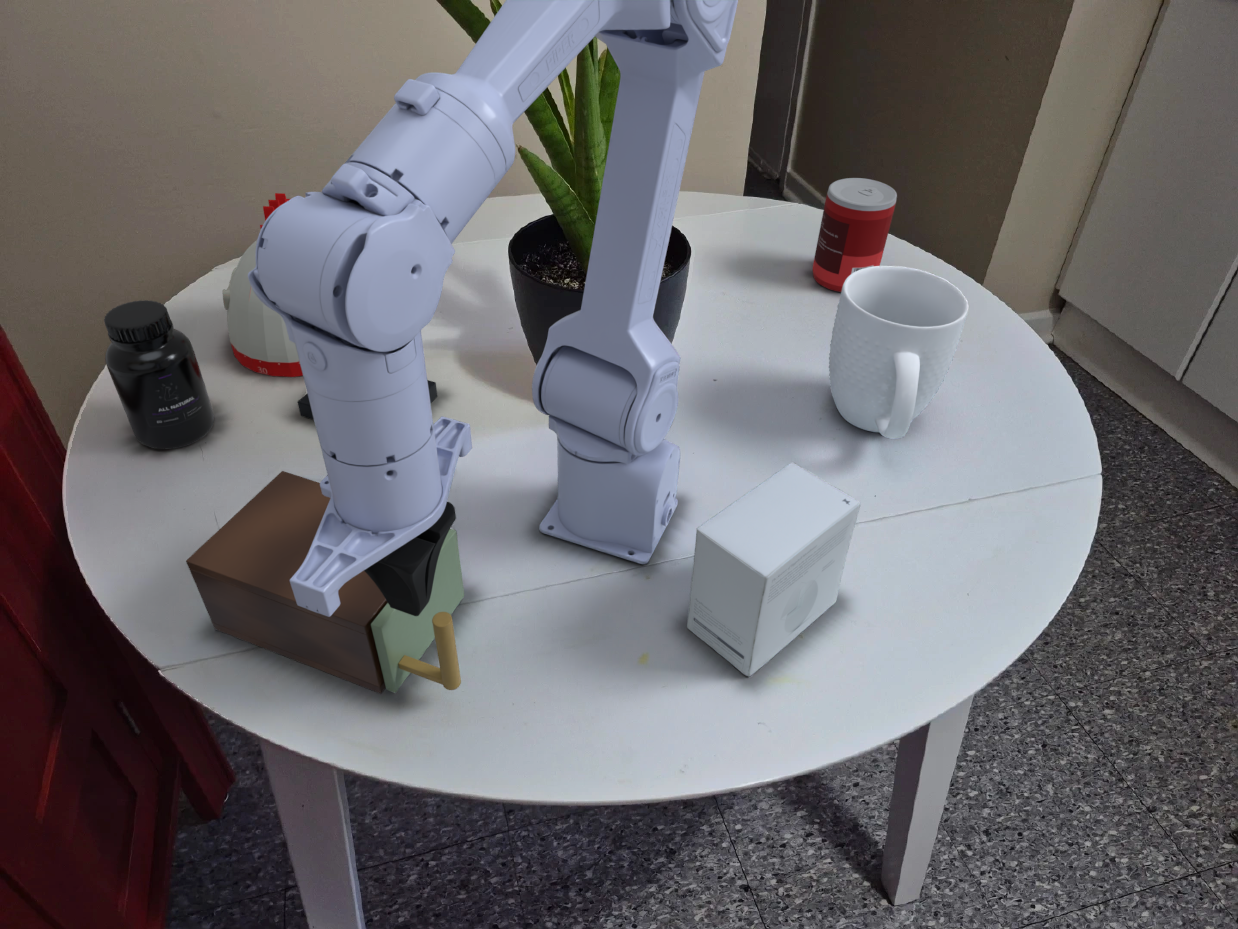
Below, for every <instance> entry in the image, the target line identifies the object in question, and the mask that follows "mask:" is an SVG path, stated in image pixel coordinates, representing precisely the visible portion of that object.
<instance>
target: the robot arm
mask: <svg viewBox="0 0 1238 929" xmlns="http://www.w3.org/2000/svg"><path fill="white" fill-rule="evenodd" d="M738 4H739V0H505V1H504V3H503V4H501V5H502V6H501V7H500V8H499V9H498V11H497V13H496V14H495V15H494V17H493V19H492V20H491V21H490V22H489V24H488V26H487V27H486V28H485V30H484V31H483V33H482V34H481V36H480V37H479V38H478V40H477V42H476V43H475V44H474V46H473V47H472V49H471V50H470V52H469V53H468V55H467V56H466V57H465V59H464V60H463V62H462V64H461V65H460V66H459V68H458V69H457V70H456V72H455V73H452V74H450V73H445V72H425V73H422V74H420V75H418V76H417V77H416V78H415V79H412V78H408V79H407V80H406V81H405V82H404V83H403V84H402V86H401V87H400V88H399V89H398V90H397V91H396V92H395V94H394V96H393V100H394V102H395V103H394V104H393V106H392V107H391V108H390V109H389V110H388V111H387V112H386V113H385V115H383V118H381V119H380V121H379V122H377V124H376V125H375V127H374V128H373V129H372V130H371V131H370V133H369V134H368V135H367V136H366V137H365V139H363V141H361V143H360V144H359V145H358V147H356V149H355V150H354V151H353V152H352V153H351V155H350V156H349V157H348V158H347V159H346V160H345V162H344V163H343V164H341V165H340V167H339V168H338V169H337V170H336V171H335V173H333V175H332V176H331V179H330V180H329V181H328V182H327V183H326V184H325V186H324V187H323V188H322V190H321V191H308V192H304V193H305V194H304V195H305V197H304V196H301V195H296V196H293V197H292V198H289V199H290V200H289V201H287V202H286V203H284V204H282V205H281V206H279V207H278V208H277V209H275V210H274V211H273V212H272V213H271V215H270V216H269V217H268V218H267V220H266V221H265V220H264V223H263V224H262V225H263V226H262V228H260V230H259V232H258V235H257V239H256V240H257V243H256V251H255V260H256V266H255V268H254V269H253V270H252V271H250V272H249V273H248V279H249V282H250V285H251V287H252V289H253V291H254V292H255V294H256V296H257V297H258V298H259V299H260V300H261V301H262V302H263V303H264V304H265V305H266V306H267V307H269V308H270V309H272V310H274V311H276V312H277V313H278V314H279V315H280V316H281V317H282V318H283V320H284V322H285V325H286V328H287V332H288V336H289V340H290V341H292V342H294V343H295V345H296V349H297V353H298V357H299V361H300V365H301V369H302V373H303V376H302V377H303V380H304V385H305V389H306V394H307V393H308V398H309V402H310V406H311V410H312V414H313V418H314V420H313V421H314V426H315V430H316V434H317V438H318V442H319V445H320V449H321V453H322V459H323V461H324V465H325V470H326V475H325V477H324V478H322V479H321V480H320V482H319V483H320V487H321V491H322V494H323V495H324V496H326V497H329V498H331V499H330V501H329V503H328V506H327V508H326V511H325V513H324V515H323V518H322V520H321V523H320V525H319V528H318V530H317V532H316V535H315V537H314V540H313V542H312V545H311V547H310V549H309V552H308V554H307V556H306V558H305V560H304V562H303V563H302V565H301V567H300V568H299V569H298V571H297V572H296V573H295V574H294V575H293V577H292V578H291V579H290V584H291V587H292V590H293V593H294V596H295V599H296V603H297V605H298V606H301V607H303V608H306V609H308V610H311V611H313V612H316V613H320V614H322V615H325V616H328V617H330V616H331V615H332V614H333V613H334V612H335V610H336V609H337V608H338V607H339V606H340V604H341V603H340V599H339V595H338V590H339V589H340V588H341V587H342V586H343V585H344V583H346V582H347V581H349V580H350V579H352V578H353V577H354V576H356V575H358V574H359V573H361V572H362V571H365V572H366V573H367V574H368V575H369V577H370V578H371V579H372V580H373V581H374V583H375V584H376V585H377V587H378V588H379V589H380V591H381V592H382V594H383V596H384V597H385V599H386V600H387V602H388V604H389V605H390V607H391V608H394V609H396V610H399V611H402V612H405V613H407V614H410V615H413V616H419V615H420V613H421V612H422V611H423V609H424V608H425V607H426V605H427V604H428V602H429V600H430V597H431V592H432V587H433V581H434V575H435V570H436V566H437V561H438V557H439V554H440V551H441V548H442V545H443V543H444V540H445V538H446V536H447V534H448V532H449V530H450V529H452V526H453V524H455V521H456V520H457V514H456V507H455V506H454V504H452V503H451V502H450V501H448V499H449V496H450V491H451V488H452V484H453V481H454V476H455V472H456V468H457V465H458V460H459V458H465V457H466V456H467V455H468V454H469V453H470V451H471V450H472V449H473V441H472V440H473V439H472V431H471V424H470V423H467V422H464V421H461V420H457V419H454V418H450V417H446V416H443V415H441V416H440V417H439V418H438V419H437V420H435V422H434V419H433V418H434V417H433V412H432V402H431V403H430V396H429V388H428V381H427V380H428V374H427V373H428V372H427V366H426V358H425V357H426V356H425V352H424V350H425V349H424V343H423V336H422V330H423V329H424V328H425V327H426V326H428V325H429V324H430V323H431V321H432V319H433V317H434V315H435V313H436V311H437V308H438V306H439V303H440V301H441V300H440V299H441V296H442V292H443V291H442V290H443V285H444V281H445V276H446V274H447V271H448V269H449V268H450V266H451V265H452V264H453V256H454V255H455V253H456V250H455V247H454V246H453V243H454V241H455V240H456V239H457V238H458V236H460V234H461V232H462V231H463V230H464V229H465V227H467V225H468V223H469V222H470V220H471V219H472V218H473V217H474V216H475V214H476V213H477V212H478V210H479V209H480V208H481V207H482V205H483V204H484V202H486V200H488V197H490V195H491V194H492V192H493V191H494V189H495V188H496V187H497V186H498V184H499V183H500V182H501V181H502V179H503V178H504V176H505V175H506V174H507V173H508V171H509V170H510V169H511V168H512V166H513V164H514V162H515V158H516V144H515V143H516V142H515V137H514V136H515V135H514V130H513V125H514V123H515V122H516V121H517V120H518V119H519V118H520V117H521V116H522V115H524V113H525V112H526V110H527V109H528V108H530V106H531V105H532V104H533V103H534V102H535V101H536V100H537V99H538V98H539V97H540V96H541V95H542V93H543V92H544V91H546V89H547V88H548V87H549V86H550V85H551V84H552V83H553V82H554V81H555V79H557V77H558V76H559V75H560V74H561V73H562V72H563V71H564V70H565V69H566V68H567V67H568V66H569V65H570V64H571V62H572V61H573V60H574V59H575V58H576V57H577V56H578V55H579V54H580V53H581V52H582V51H583V50H584V49H585V48H586V47H587V45H588V44H589V43H590V42H591V41H592V40H593V39H594V38H596V39H597V40H599V41H601V42H602V43H603V44H605V46H606V47H607V49H608V51H609V53H610V55H611V56H612V59H613V60H614V62H615V64H616V66H617V68H618V70H619V73H620V78H619V85H618V90H617V96H616V102H615V108H614V114H613V120H612V124H611V125H612V126H611V132H610V136H609V137H610V138H609V144H608V147H607V148H608V150H607V154H606V161H605V167H604V173H603V179H602V184H601V190H600V194H599V202H598V207H597V211H596V212H597V213H596V219H595V224H594V229H593V230H594V231H593V236H592V237H593V238H592V243H591V248H590V254H589V260H588V266H587V272H586V277H585V283H584V289H583V294H582V301H581V305H580V306H581V307H580V309H579V310H577V311H574V312H573V313H570V314H567V315H566V316H564V317H561V318H560V319H559V320H557V321H555V322H554V323H553V324H552V325H551V326H549V328H548V332H547V339H546V342H545V345H544V348H543V352H542V354H541V356H540V358H539V359H538V362H537V364H536V367H535V369H534V372H533V375H532V381H531V393H532V394H531V395H532V401H533V404H534V407H535V408H536V410H537V411H538V412H539V413H541V414H543V415H545V416H548V429H549V430H550V431H552V432H554V433H555V434H556V453H557V454H556V458H557V459H556V462H557V463H556V464H557V498H556V499H555V501H554V503H553V504H552V505H551V507H550V508H549V510H548V511H547V513H546V515H545V516H544V517H543V518H542V521H541V522H540V524H539V526H538V528H539V532H540V533H542V534H545V535H548V536H551V537H555V538H557V539H561V540H564V541H567V542H570V543H574V544H577V545H581V546H583V547H585V548H589V549H593V550H595V551H599V552H601V553H605V554H607V555H610V556H615V557H618V558H621V559H623V560H627V561H631V562H633V563H637V564H639V565H640V564H641V565H646V564H648V563H649V562H650V560H651V557H652V556H653V554H654V552H655V550H656V549H657V546H658V544H659V542H660V540H661V538H662V537H663V534H664V532H665V530H666V529H667V527H668V525H669V523H670V521H671V518H672V517H673V515H674V513H675V511H676V509H677V507H678V504H679V500H678V499H677V493H678V483H679V473H680V463H681V448H680V446H679V445H678V444H676V443H673V442H671V441H669V440H668V439H666V436H667V435H668V433H669V431H670V430H671V427H672V425H673V423H674V420H675V417H676V414H677V410H678V406H679V391H678V383H679V374H680V367H681V366H680V364H681V358H682V357H681V356H680V353H679V352H678V350H677V349H676V347H675V346H674V345H673V344H672V342H671V341H670V340H669V339H668V337H667V336H666V335H665V334H664V332H663V331H662V329H661V328H660V327H659V326H658V324H657V322H656V321H655V319H654V313H655V308H656V304H657V298H658V294H659V289H660V285H661V280H662V276H663V271H664V265H665V261H666V256H667V251H668V246H669V242H670V237H671V234H672V228H673V223H674V218H675V213H676V210H677V205H678V199H679V196H680V190H681V185H682V181H683V175H684V172H685V166H686V163H687V162H686V161H687V157H688V153H689V147H690V143H691V138H692V132H693V128H694V124H695V119H696V114H697V109H698V105H699V100H700V95H701V91H702V86H703V81H704V77H705V72H706V71H709V70H712V69H716V68H718V67H720V66H722V65H723V64H724V62H725V57H726V53H727V49H728V44H729V42H730V39H731V36H732V32H733V31H732V30H733V26H734V22H735V17H736V13H737V8H738Z"/></svg>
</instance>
